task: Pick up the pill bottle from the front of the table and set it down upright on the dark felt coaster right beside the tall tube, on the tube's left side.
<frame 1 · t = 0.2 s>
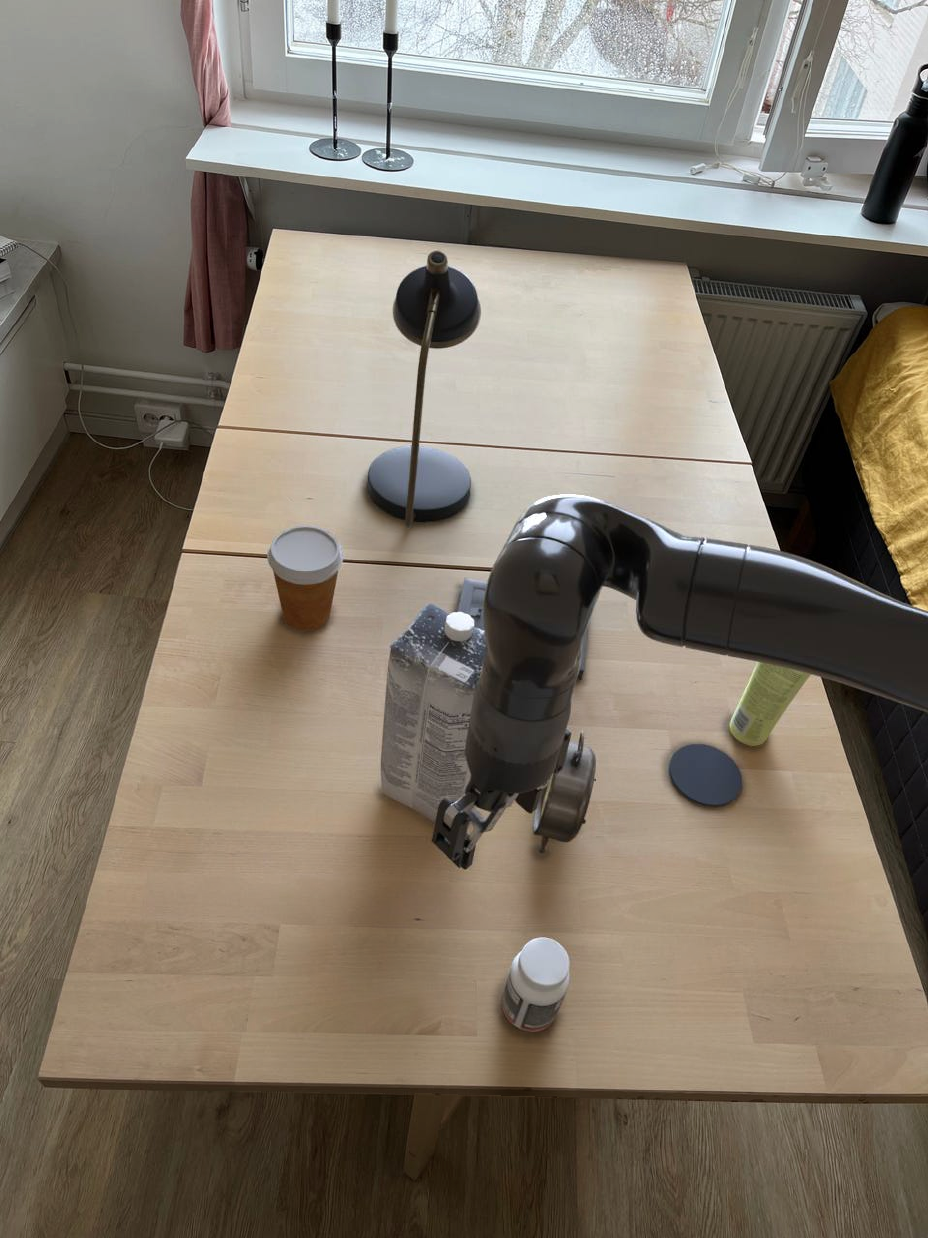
hand: (493, 832, 87), 20 cm above the table, tool pointing down, fingers open, 8 cm apart
lamp: (417, 496, 150), on the table
tube: (748, 733, 124), on the table
picture frame: (519, 633, 132), on the table
juice carton: (428, 790, 113), on the table
alarm clock: (555, 823, 112), on the table
disposable coffee cup: (306, 614, 130), on the table
pill bottle: (528, 1005, 97), on the table
coaster: (705, 775, 118), on the table
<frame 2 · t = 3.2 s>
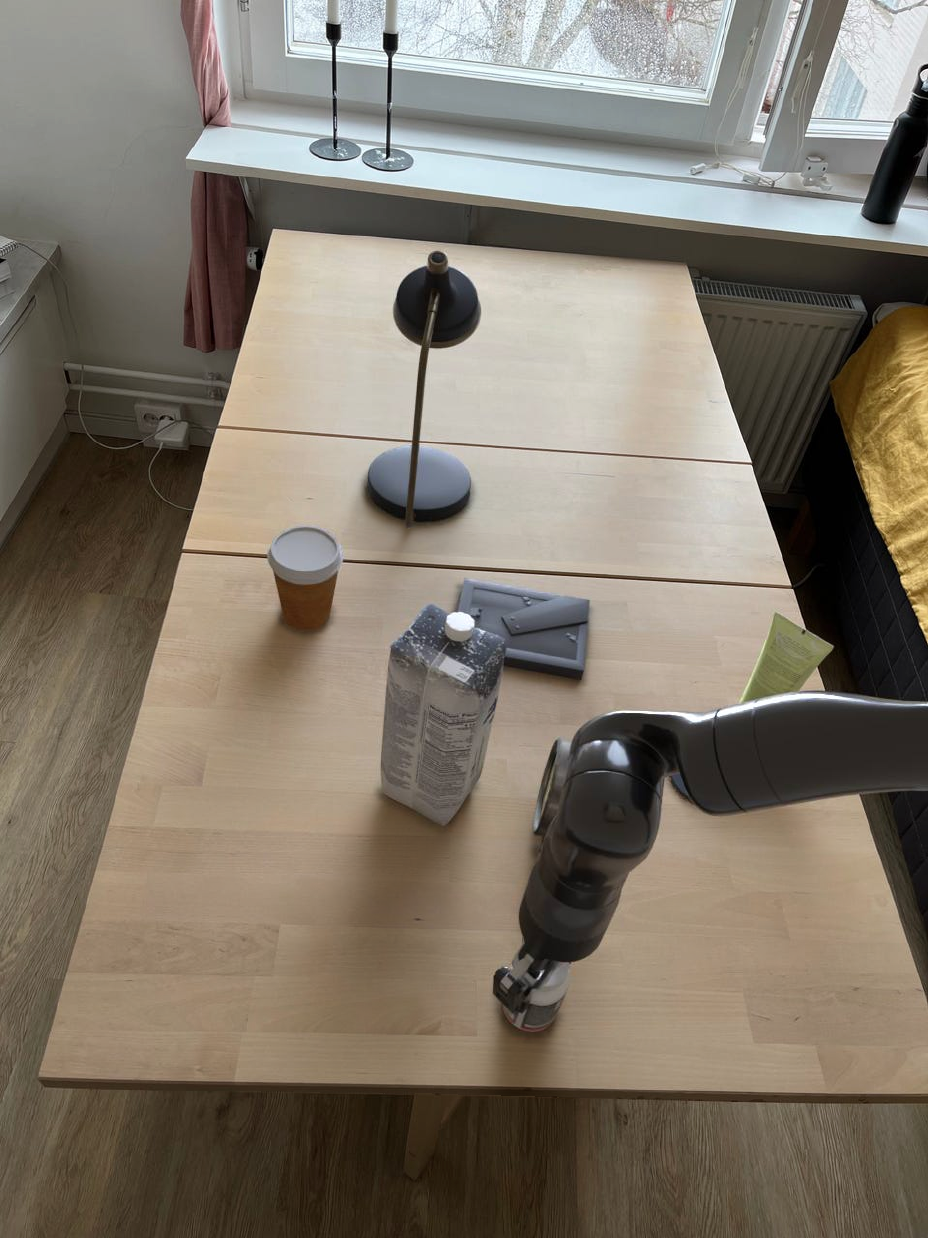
hand: (538, 981, 93), 6 cm above the table, tool pointing down, fingers closed on pill bottle, 5 cm apart
pill bottle: (528, 1005, 97), on the table, touching gripper
everything else where it was.
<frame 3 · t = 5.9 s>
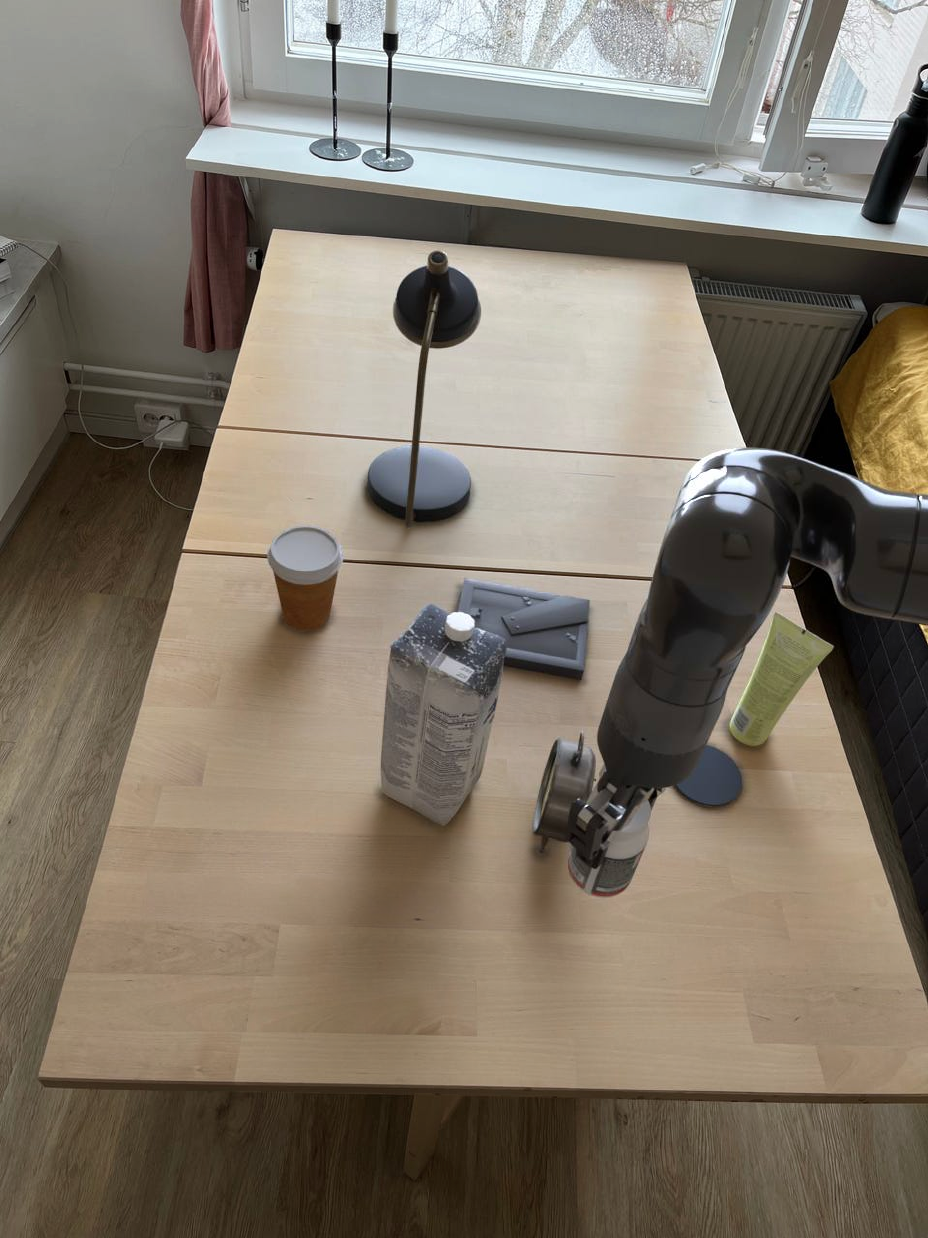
hand: (612, 835, 80), 27 cm above the table, tool pointing down, fingers closed on pill bottle, 5 cm apart
pill bottle: (598, 871, 84), point 21 cm above the table, touching gripper
everything else where it was.
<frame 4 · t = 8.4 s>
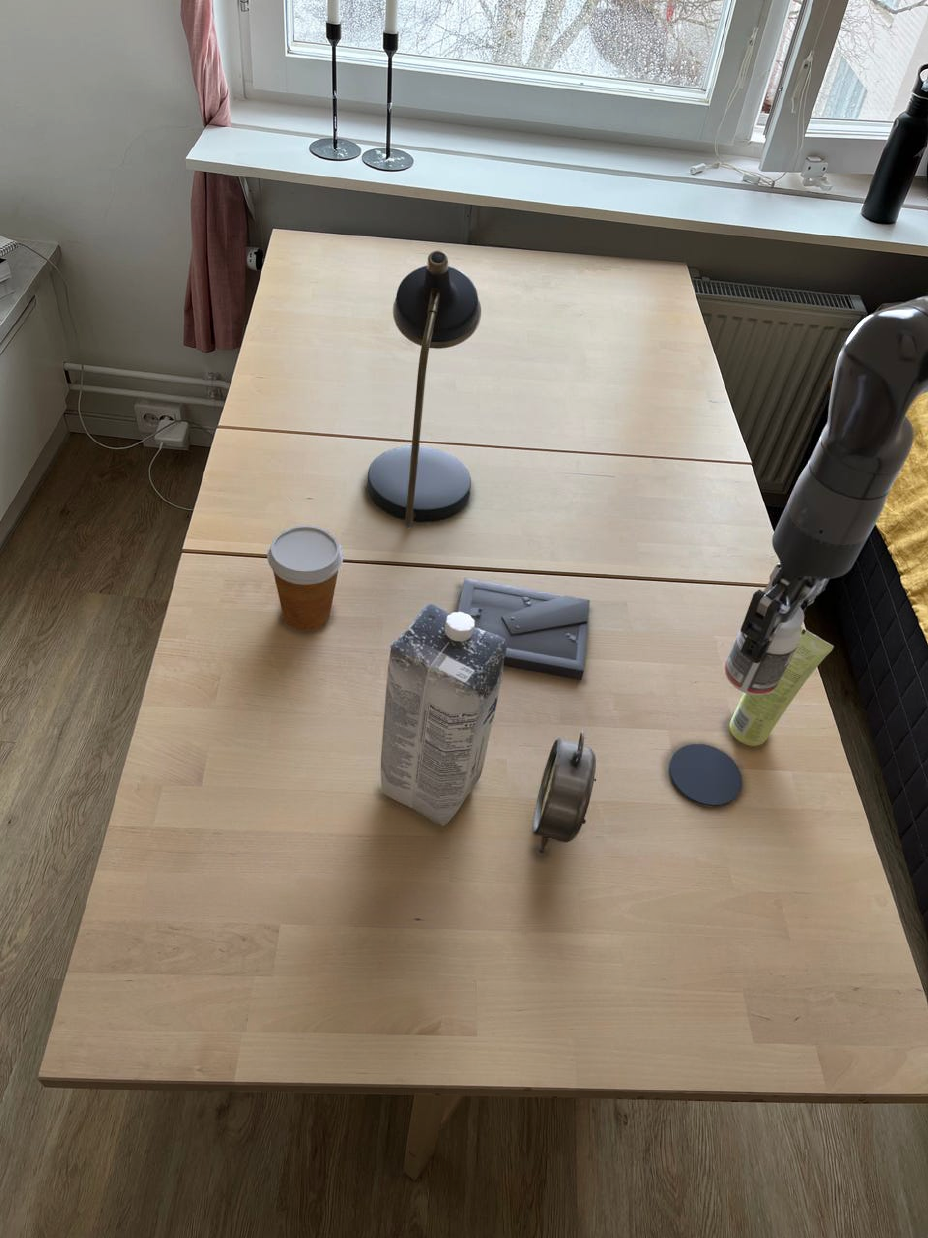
hand: (767, 641, 98), 27 cm above the table, tool pointing down, fingers closed on pill bottle, 5 cm apart
pill bottle: (749, 677, 102), point 21 cm above the table, touching gripper
everything else where it was.
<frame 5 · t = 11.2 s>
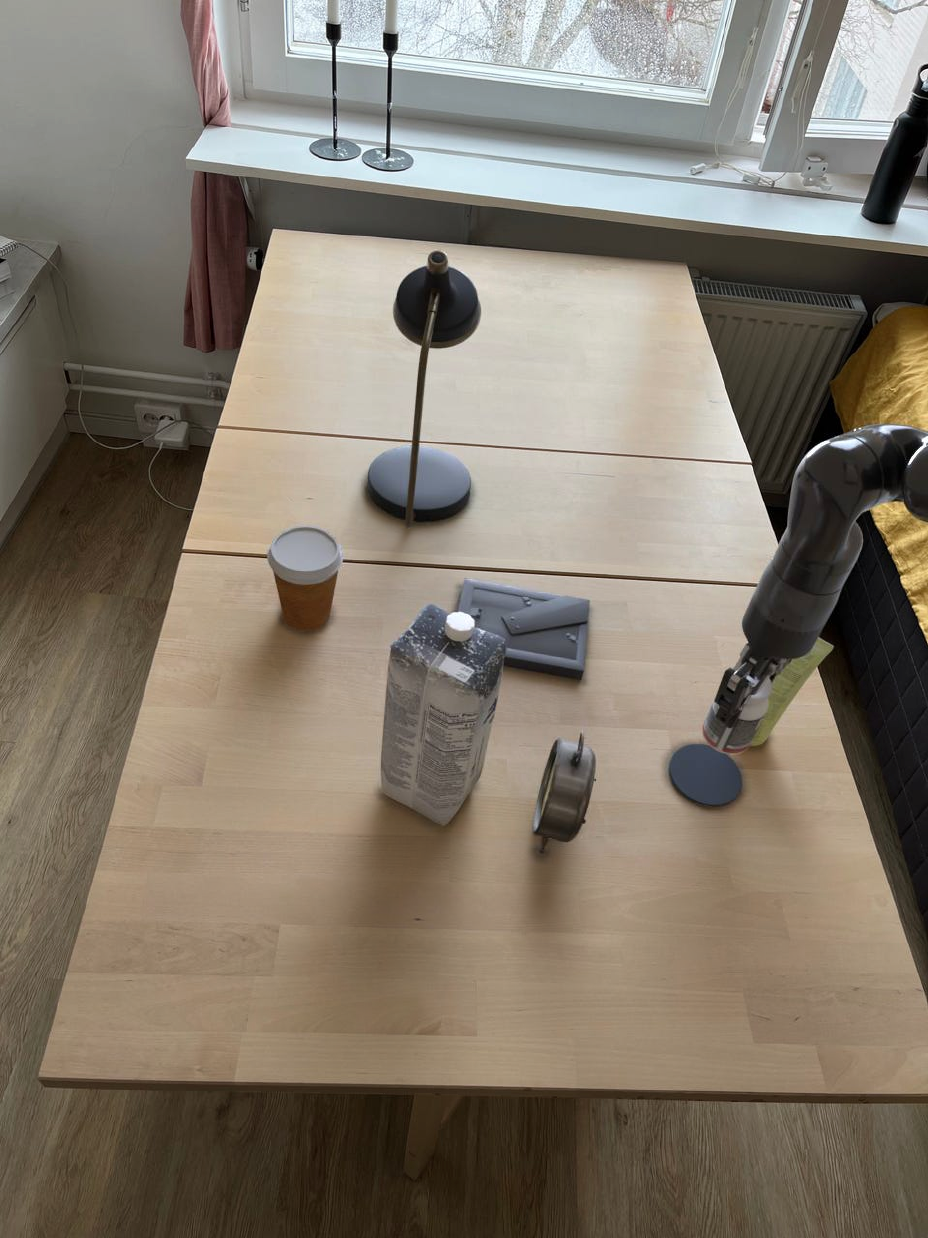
hand: (740, 707, 109), 14 cm above the table, tool pointing down, fingers closed on pill bottle, 5 cm apart
pill bottle: (724, 737, 113), point 8 cm above the table, touching gripper
everything else where it was.
when the fingers open (6 cm above the table, at t = 13.5 s): pill bottle stays where it is, resting on coaster.
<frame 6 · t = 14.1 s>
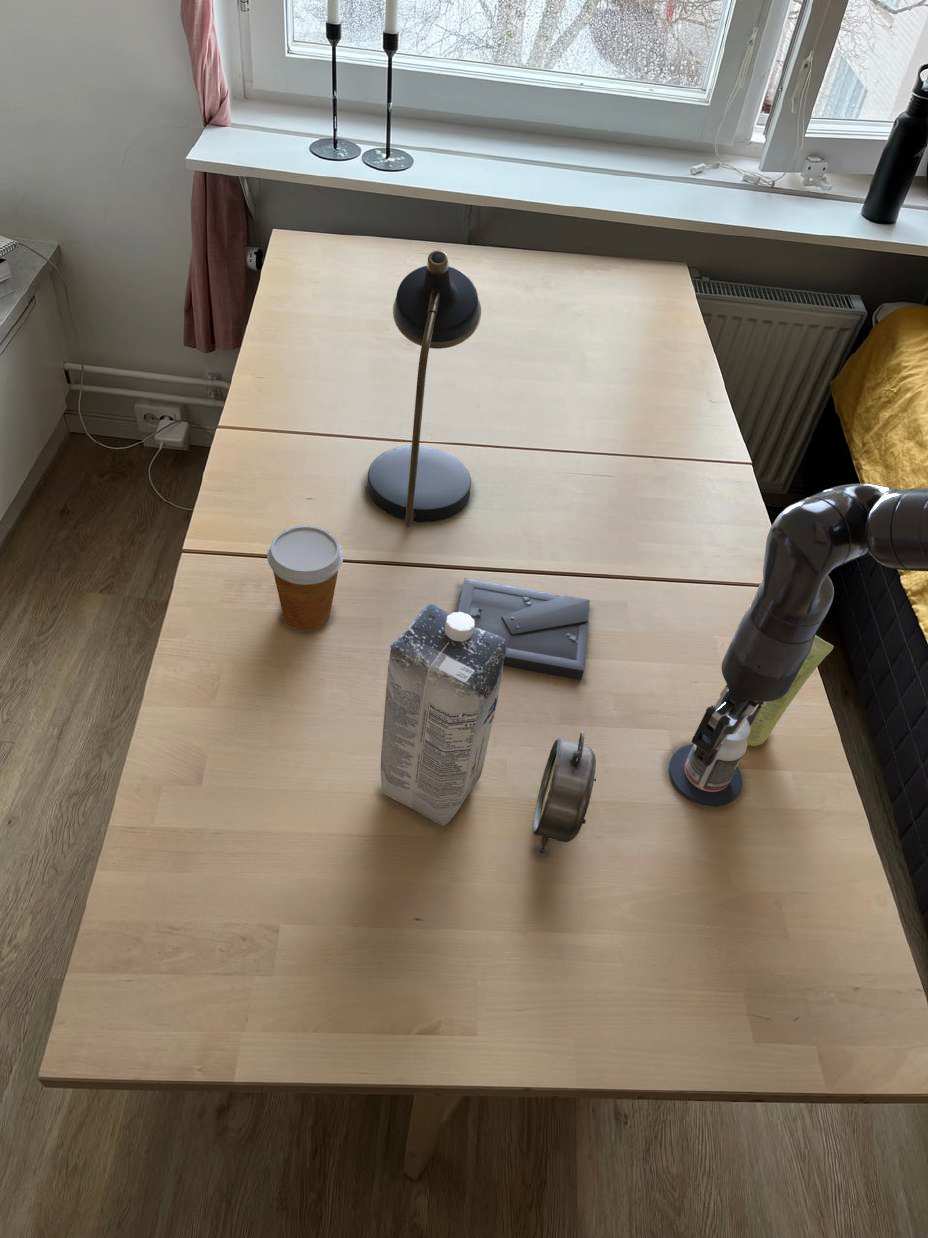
hand: (722, 740, 113), 7 cm above the table, tool pointing down, fingers open, 8 cm apart
pill bottle: (705, 775, 118), resting on coaster
everything else where it was.
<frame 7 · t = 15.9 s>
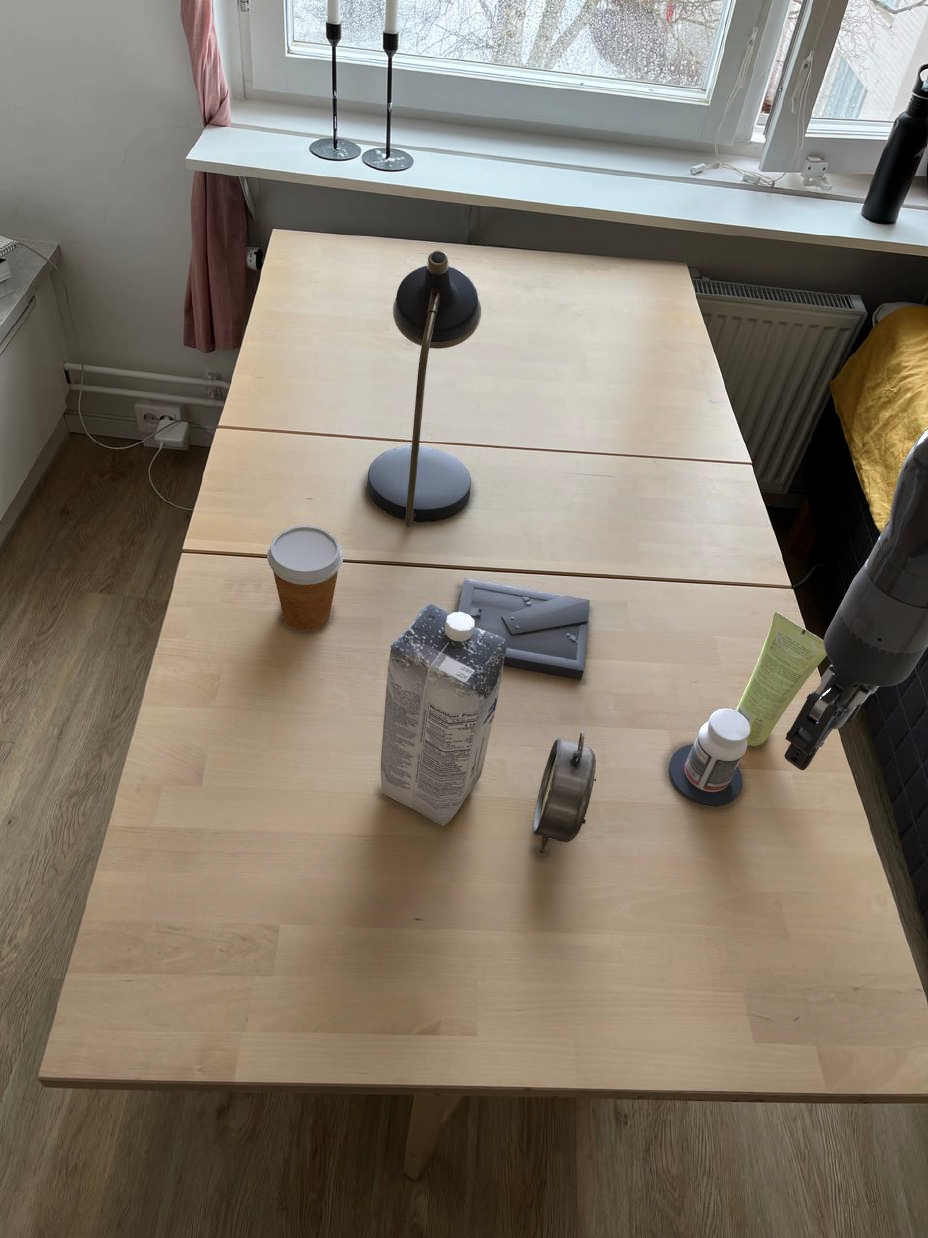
hand: (818, 738, 91), 25 cm above the table, tool pointing down, fingers open, 8 cm apart
nothing on the table moved.
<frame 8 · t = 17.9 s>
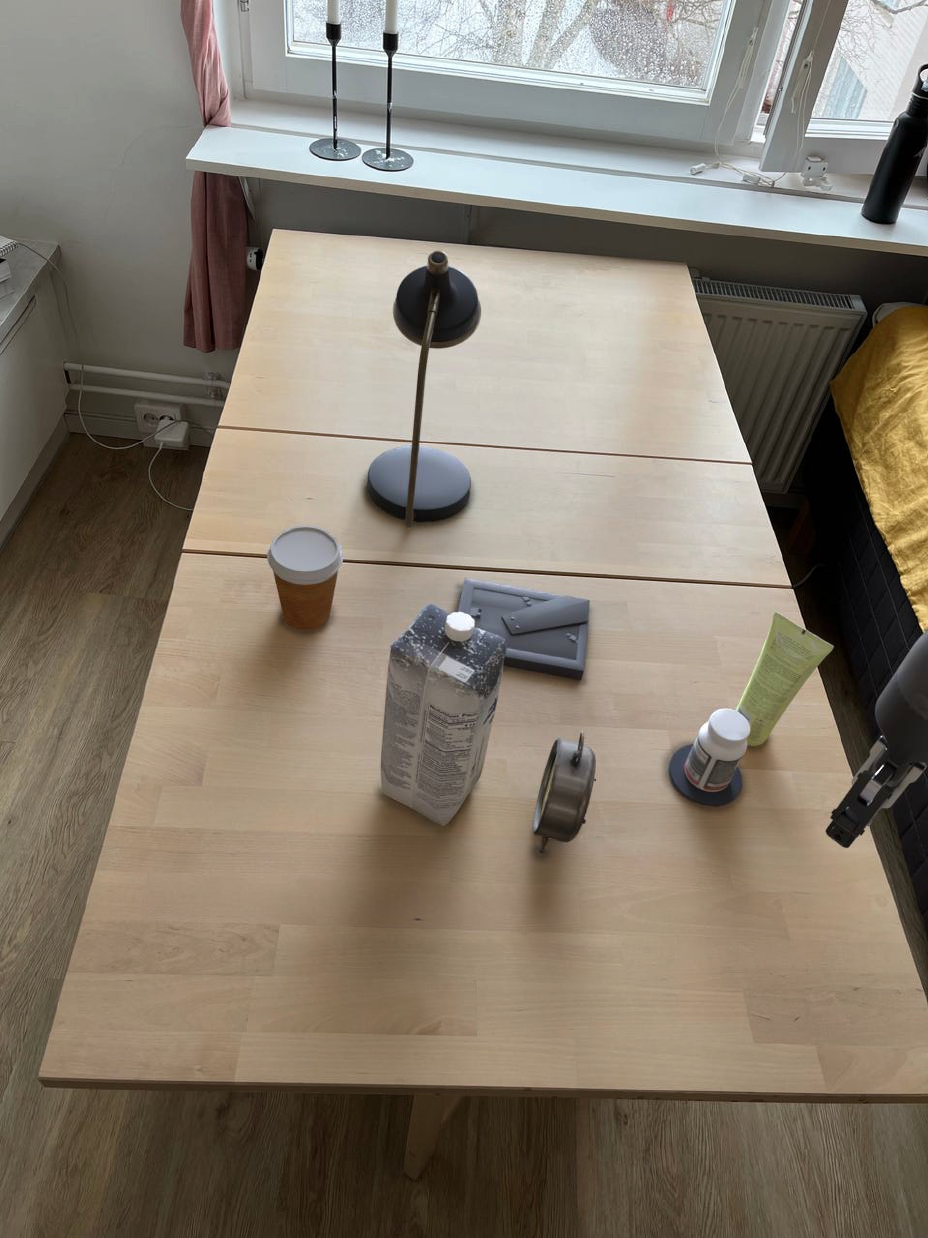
hand: (861, 809, 83), 28 cm above the table, tool pointing down, fingers open, 8 cm apart
nothing on the table moved.
at the end: pill bottle inside the target area on the table beside the tube (0.1 cm from its centre), resting on coaster; pill bottle tilted 0°; tube moved 0.2 cm from its start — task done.
